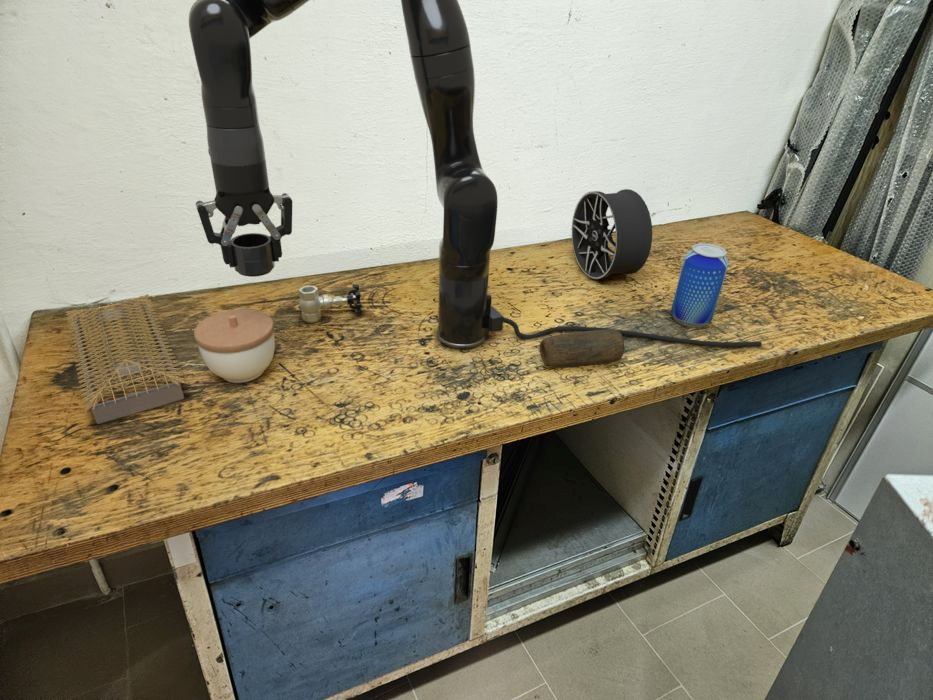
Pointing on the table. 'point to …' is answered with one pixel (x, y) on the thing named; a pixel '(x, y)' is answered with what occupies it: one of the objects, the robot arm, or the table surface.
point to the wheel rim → (595, 234)
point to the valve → (325, 302)
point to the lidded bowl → (236, 344)
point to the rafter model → (127, 368)
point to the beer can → (699, 285)
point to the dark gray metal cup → (252, 254)
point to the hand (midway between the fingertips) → (254, 262)
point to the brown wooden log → (582, 348)
